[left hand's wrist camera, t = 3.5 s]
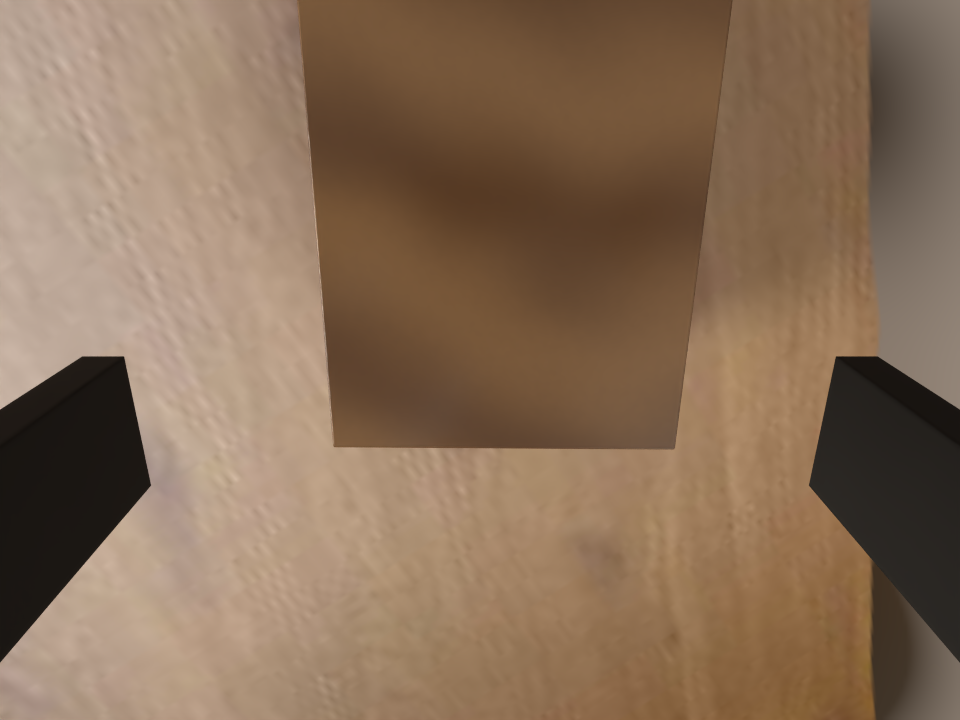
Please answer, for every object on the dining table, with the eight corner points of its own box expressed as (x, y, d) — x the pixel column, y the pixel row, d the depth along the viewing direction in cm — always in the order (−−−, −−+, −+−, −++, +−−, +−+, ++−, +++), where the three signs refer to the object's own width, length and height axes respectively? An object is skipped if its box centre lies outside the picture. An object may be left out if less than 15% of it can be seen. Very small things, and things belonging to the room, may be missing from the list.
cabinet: (355, -91, 25) (279, -211, 15) (652, -88, 25) (759, -206, 15) (377, 341, 31) (332, 447, 22) (615, 343, 31) (675, 450, 22)
